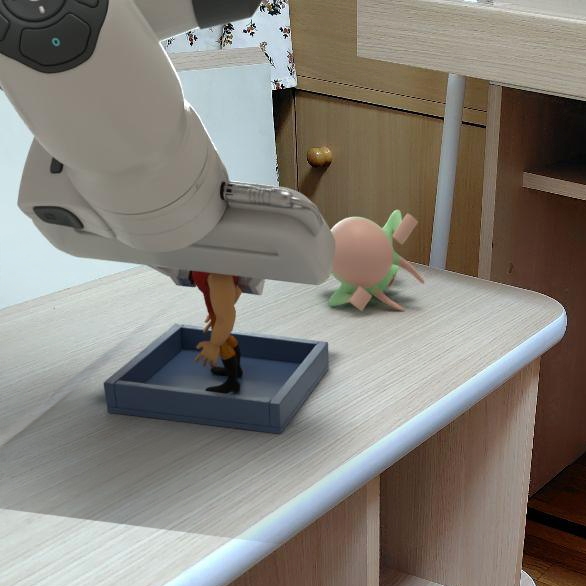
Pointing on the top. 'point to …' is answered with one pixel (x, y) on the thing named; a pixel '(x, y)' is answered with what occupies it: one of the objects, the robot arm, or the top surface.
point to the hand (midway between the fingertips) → (221, 282)
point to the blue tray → (219, 380)
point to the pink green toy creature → (369, 258)
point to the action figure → (220, 327)
